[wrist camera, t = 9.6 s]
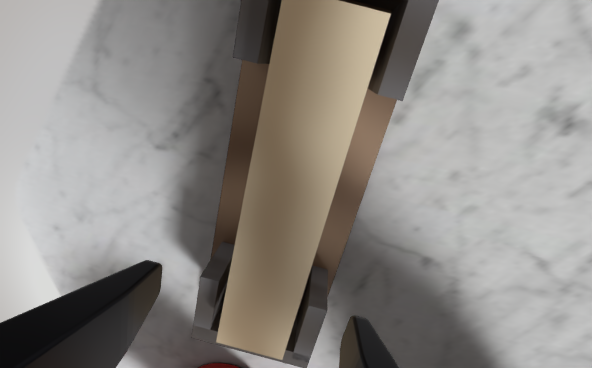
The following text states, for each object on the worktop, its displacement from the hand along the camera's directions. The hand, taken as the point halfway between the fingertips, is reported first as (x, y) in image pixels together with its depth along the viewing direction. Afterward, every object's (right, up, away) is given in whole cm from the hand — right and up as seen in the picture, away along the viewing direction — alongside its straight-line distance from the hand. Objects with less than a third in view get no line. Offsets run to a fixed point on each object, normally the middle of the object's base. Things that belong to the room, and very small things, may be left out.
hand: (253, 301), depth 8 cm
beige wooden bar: (+1, +4, +9) cm, 10 cm away
